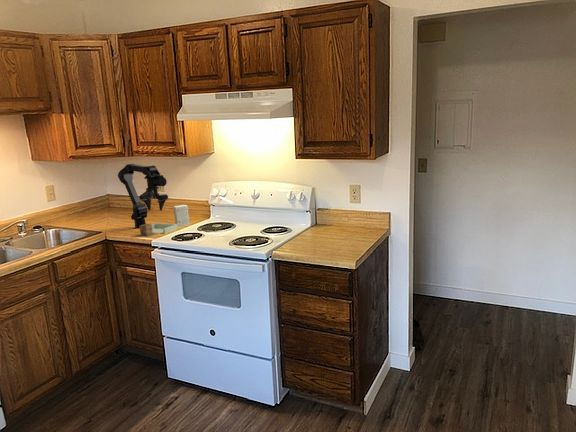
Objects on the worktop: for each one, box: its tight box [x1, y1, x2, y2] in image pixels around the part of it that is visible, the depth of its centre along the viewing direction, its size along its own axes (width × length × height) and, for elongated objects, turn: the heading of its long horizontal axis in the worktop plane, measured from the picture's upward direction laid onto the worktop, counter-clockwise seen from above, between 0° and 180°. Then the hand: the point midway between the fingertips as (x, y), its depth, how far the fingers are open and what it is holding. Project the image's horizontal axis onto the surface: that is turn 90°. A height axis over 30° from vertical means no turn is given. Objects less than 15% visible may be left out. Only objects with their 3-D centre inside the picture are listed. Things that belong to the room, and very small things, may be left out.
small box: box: [173, 204, 191, 228], centre depth 306 cm, size 8×6×13 cm
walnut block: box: [139, 223, 153, 236], centre depth 284 cm, size 5×5×6 cm
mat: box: [136, 233, 159, 238], centre depth 285 cm, size 10×9×1 cm
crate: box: [151, 222, 179, 234], centre depth 295 cm, size 18×12×3 cm, turn 64°
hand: (155, 210), depth 297 cm, fingers open, 9 cm apart
